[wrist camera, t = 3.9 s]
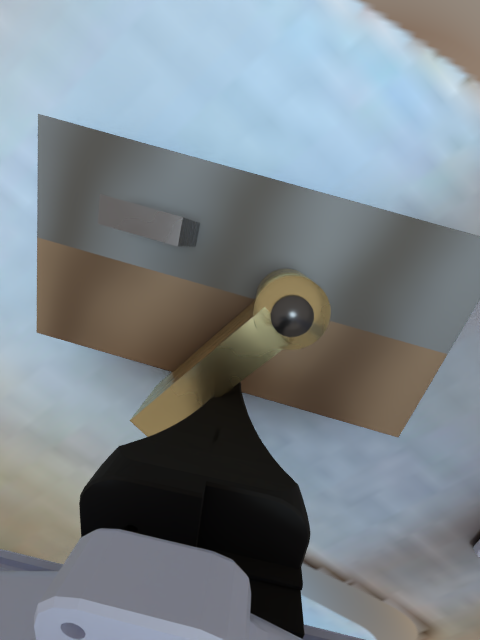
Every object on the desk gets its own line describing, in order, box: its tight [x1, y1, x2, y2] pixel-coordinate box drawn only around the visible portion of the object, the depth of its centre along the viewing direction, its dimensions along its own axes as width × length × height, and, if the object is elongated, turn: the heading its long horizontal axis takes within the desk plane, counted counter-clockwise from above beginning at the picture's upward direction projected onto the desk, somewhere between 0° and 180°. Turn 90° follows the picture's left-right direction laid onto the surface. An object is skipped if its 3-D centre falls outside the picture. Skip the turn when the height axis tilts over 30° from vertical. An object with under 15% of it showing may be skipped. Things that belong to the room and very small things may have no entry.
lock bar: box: [130, 269, 331, 437], centre depth 10 cm, size 9×3×3 cm, turn 132°
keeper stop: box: [98, 194, 200, 246], centre depth 10 cm, size 3×1×2 cm, turn 75°
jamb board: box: [37, 114, 480, 437], centre depth 12 cm, size 20×10×1 cm, turn 75°
